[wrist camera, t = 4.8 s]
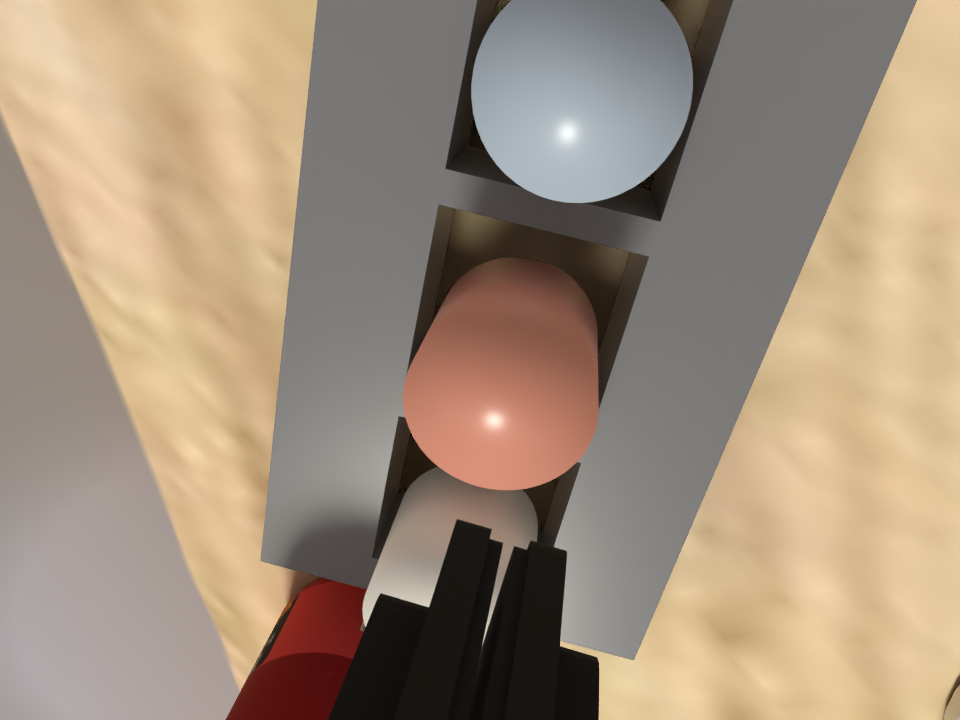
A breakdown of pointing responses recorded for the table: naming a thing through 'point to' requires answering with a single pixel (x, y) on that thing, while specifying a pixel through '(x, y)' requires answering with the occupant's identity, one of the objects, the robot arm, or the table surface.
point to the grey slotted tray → (611, 222)
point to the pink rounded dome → (507, 376)
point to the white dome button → (445, 535)
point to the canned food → (305, 656)
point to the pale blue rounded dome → (581, 94)
